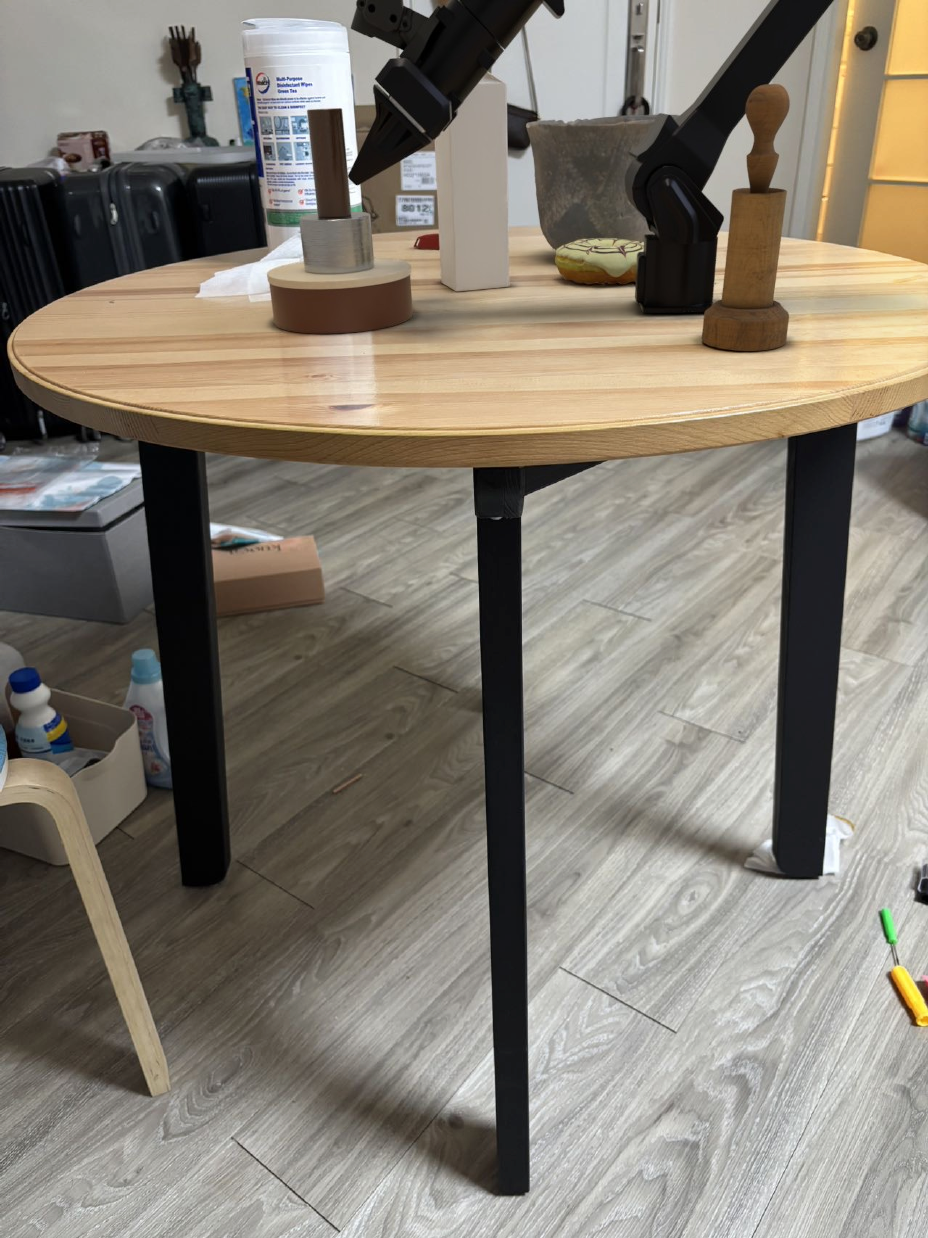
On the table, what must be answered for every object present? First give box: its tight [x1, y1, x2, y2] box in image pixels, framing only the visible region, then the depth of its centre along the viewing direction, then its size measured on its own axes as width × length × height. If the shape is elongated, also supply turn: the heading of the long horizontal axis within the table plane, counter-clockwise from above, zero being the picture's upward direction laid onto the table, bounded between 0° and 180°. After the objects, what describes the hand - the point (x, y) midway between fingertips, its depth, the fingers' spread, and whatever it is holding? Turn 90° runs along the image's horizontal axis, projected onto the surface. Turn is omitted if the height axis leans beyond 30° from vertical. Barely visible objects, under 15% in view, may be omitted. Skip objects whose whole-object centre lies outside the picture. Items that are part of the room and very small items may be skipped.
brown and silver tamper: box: [298, 107, 375, 274], centre depth 86 cm, size 6×6×13 cm
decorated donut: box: [554, 238, 644, 285], centre depth 103 cm, size 10×11×4 cm
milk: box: [434, 71, 510, 293], centre depth 99 cm, size 6×6×22 cm
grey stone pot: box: [525, 114, 681, 251], centre depth 114 cm, size 18×18×15 cm
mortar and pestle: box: [701, 83, 791, 352], centre depth 73 cm, size 7×6×18 cm
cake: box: [266, 256, 414, 335], centre depth 90 cm, size 13×13×4 cm
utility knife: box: [413, 232, 440, 250], centre depth 127 cm, size 12×1×2 cm, turn 69°
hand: (359, 176), depth 85 cm, fingers open, 9 cm apart
